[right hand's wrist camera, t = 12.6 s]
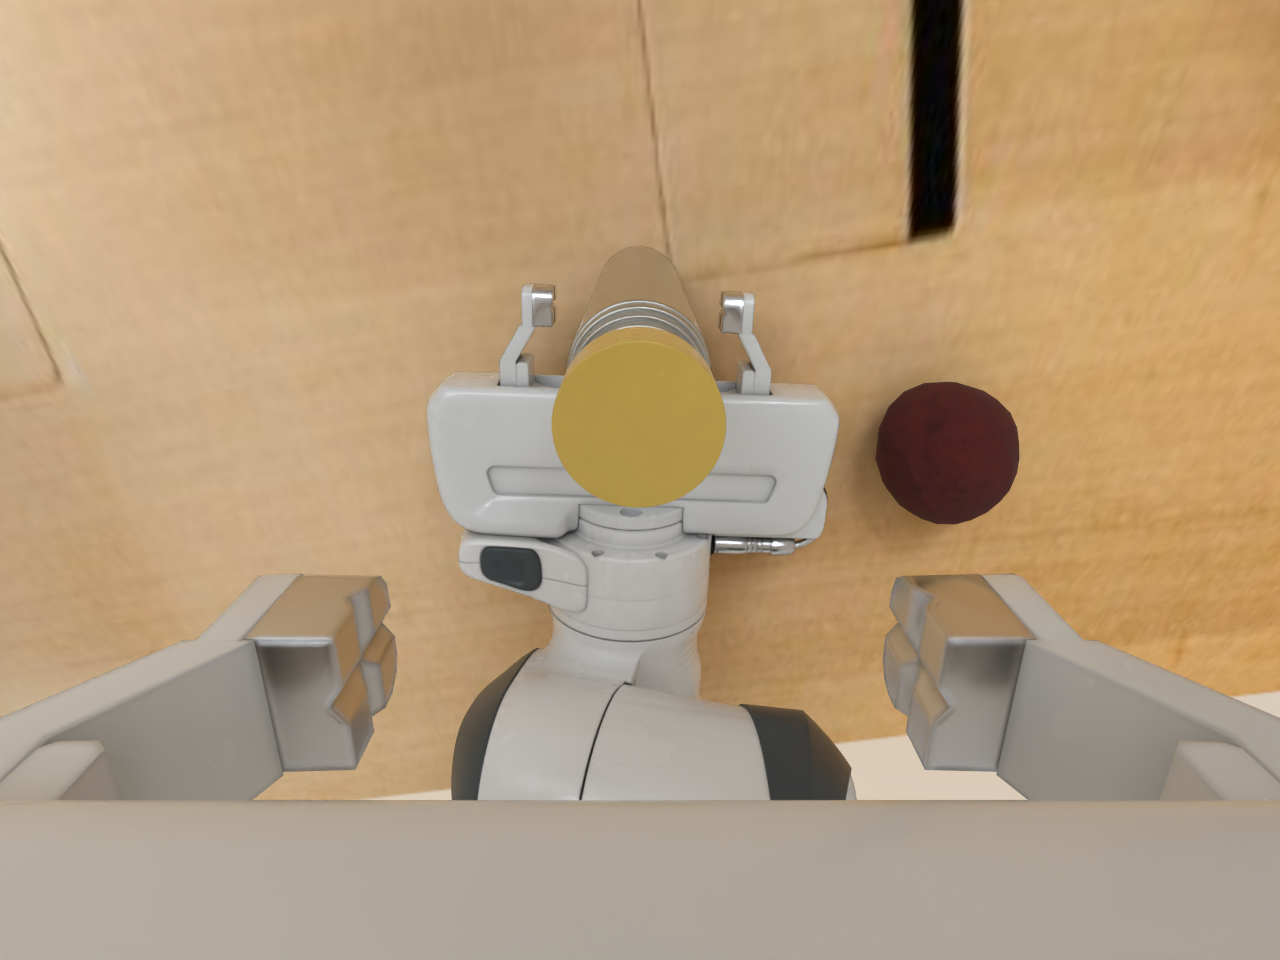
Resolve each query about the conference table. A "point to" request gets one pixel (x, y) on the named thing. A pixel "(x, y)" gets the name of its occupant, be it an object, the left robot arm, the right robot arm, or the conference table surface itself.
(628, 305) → the bottle
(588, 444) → the cap
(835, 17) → the conference table surface
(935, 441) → the potato
